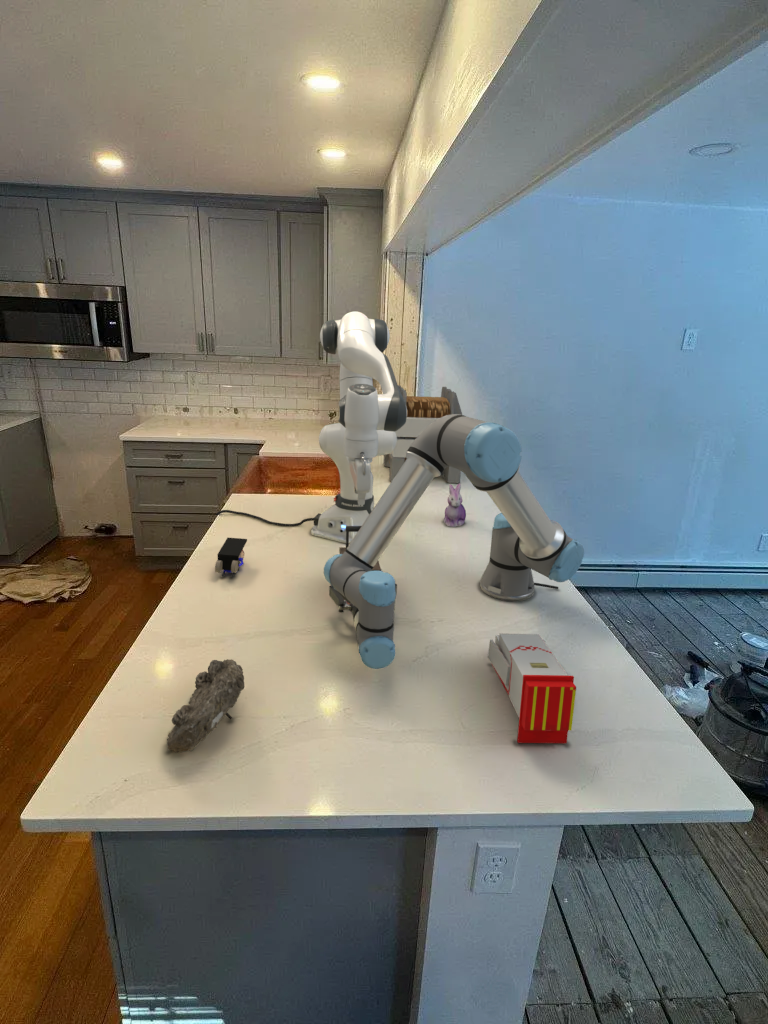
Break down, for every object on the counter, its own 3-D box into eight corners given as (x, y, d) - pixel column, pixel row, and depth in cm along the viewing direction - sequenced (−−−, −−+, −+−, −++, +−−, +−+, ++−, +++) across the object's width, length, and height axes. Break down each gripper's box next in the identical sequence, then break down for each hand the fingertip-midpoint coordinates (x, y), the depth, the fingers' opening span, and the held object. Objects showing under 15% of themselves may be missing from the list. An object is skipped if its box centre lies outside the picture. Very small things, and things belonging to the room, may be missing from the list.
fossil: (192, 660, 117) (244, 628, 112) (224, 691, 120) (276, 661, 115) (142, 746, 98) (202, 712, 93) (182, 779, 101) (242, 748, 96)
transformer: (382, 463, 289) (386, 382, 275) (445, 464, 293) (451, 384, 279) (390, 482, 257) (394, 392, 243) (460, 483, 261) (468, 394, 247)
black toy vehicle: (238, 584, 162) (249, 557, 175) (236, 562, 158) (247, 536, 172) (215, 584, 161) (227, 556, 175) (212, 561, 158) (225, 535, 171)
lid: (339, 551, 161) (339, 522, 158) (373, 550, 162) (375, 522, 159) (343, 574, 147) (343, 543, 144) (381, 573, 148) (382, 543, 145)
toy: (536, 617, 130) (585, 683, 100) (531, 671, 132) (578, 750, 103) (483, 616, 129) (518, 682, 100) (479, 670, 132) (511, 749, 103)
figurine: (451, 529, 206) (455, 489, 201) (436, 519, 214) (439, 481, 209) (472, 525, 210) (476, 487, 205) (457, 516, 219) (460, 479, 214)
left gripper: (377, 458, 139) (375, 511, 144) (368, 439, 158) (366, 487, 163) (352, 458, 138) (350, 511, 143) (345, 439, 157) (344, 487, 162)
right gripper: (320, 634, 131) (317, 589, 152) (416, 631, 134) (400, 587, 155) (321, 606, 129) (317, 564, 149) (418, 603, 132) (402, 562, 153)
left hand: (359, 498), depth 153 cm, fingers open, 8 cm apart
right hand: (360, 576), depth 152 cm, fingers open, 10 cm apart
